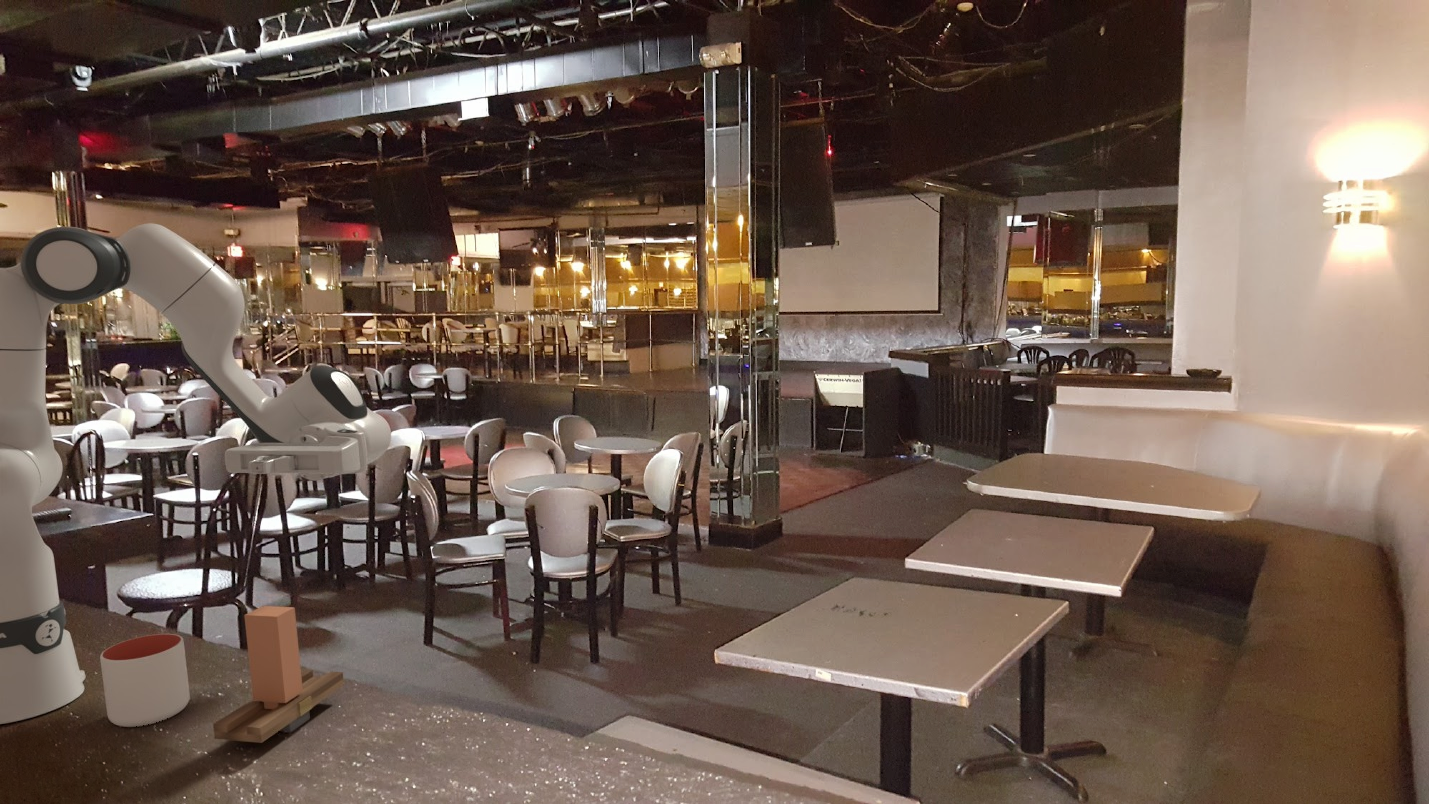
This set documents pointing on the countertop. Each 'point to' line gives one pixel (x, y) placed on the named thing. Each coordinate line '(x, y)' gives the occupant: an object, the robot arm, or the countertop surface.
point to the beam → (277, 711)
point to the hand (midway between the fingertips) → (257, 468)
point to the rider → (273, 655)
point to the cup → (145, 679)
